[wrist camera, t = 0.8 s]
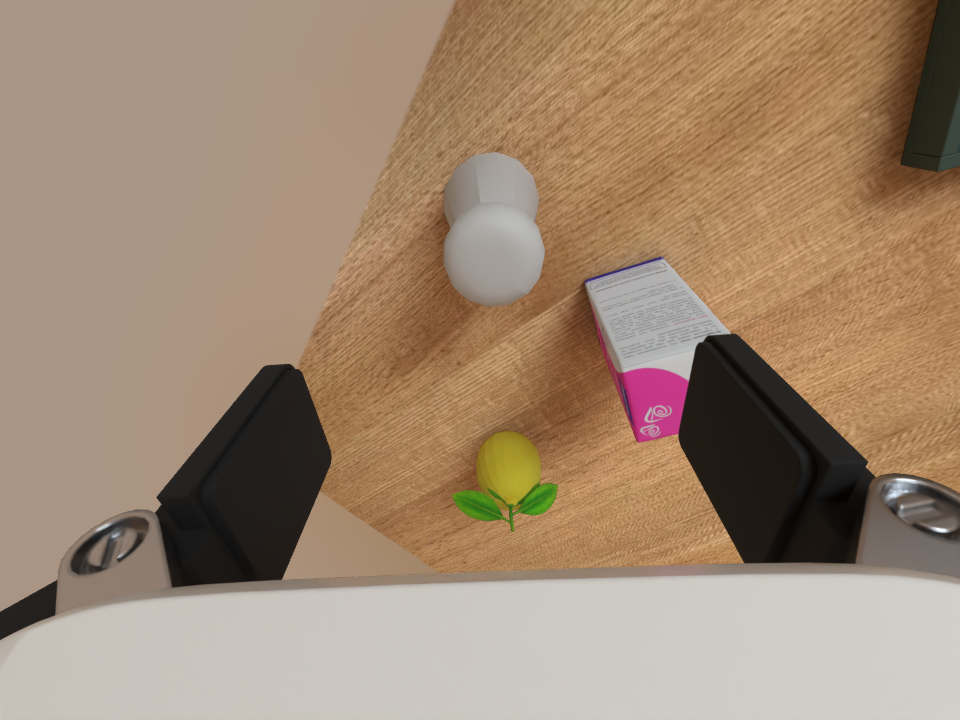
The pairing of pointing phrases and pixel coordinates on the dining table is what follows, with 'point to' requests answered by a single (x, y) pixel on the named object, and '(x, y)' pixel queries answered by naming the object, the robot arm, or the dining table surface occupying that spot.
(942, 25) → the tray
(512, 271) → the salt shaker
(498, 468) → the lemon
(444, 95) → the dining table surface
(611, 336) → the supplement box
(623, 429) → the dining table surface
